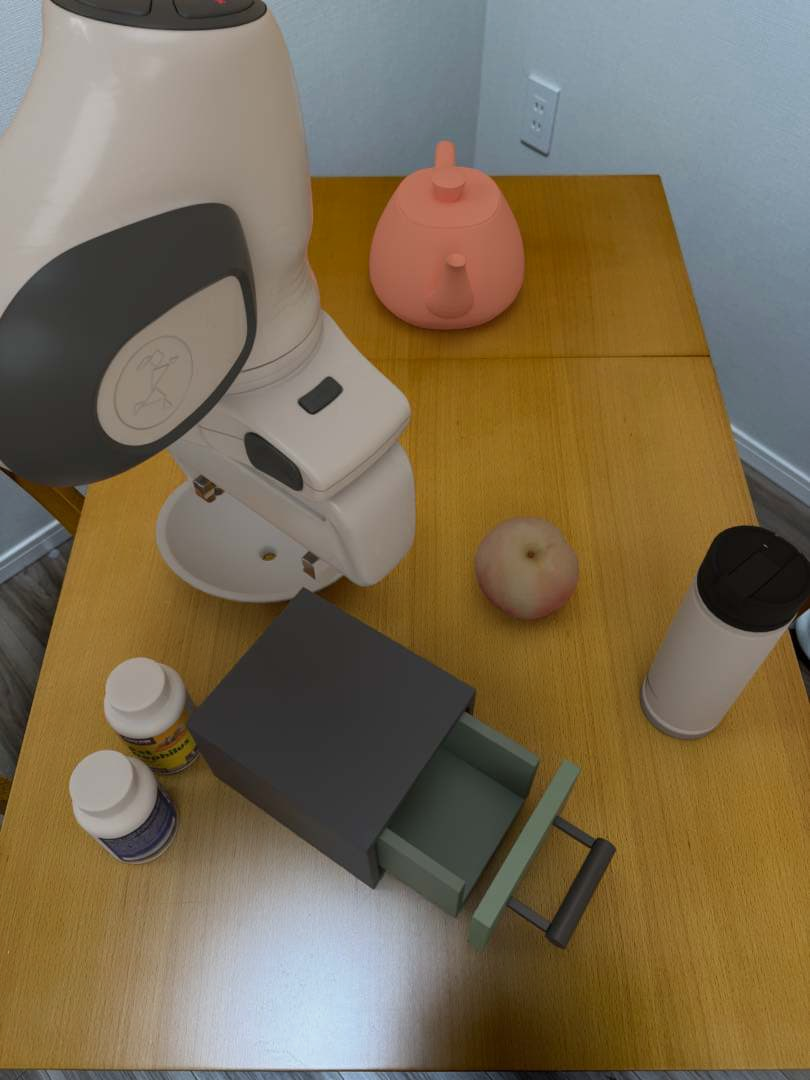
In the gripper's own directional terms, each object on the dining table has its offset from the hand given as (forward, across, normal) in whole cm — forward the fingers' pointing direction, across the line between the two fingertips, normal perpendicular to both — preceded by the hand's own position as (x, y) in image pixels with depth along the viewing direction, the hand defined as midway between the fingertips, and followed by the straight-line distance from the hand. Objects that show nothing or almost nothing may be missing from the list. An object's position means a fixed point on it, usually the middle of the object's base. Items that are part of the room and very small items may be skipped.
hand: (265, 530), depth 52 cm
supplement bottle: (+21, -4, -10) cm, 23 cm away
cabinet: (+20, +7, -2) cm, 21 cm away
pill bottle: (+21, -1, -15) cm, 26 cm away
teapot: (+19, -19, +45) cm, 52 cm away
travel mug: (+19, +25, +17) cm, 36 cm away
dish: (+20, -10, +7) cm, 23 cm away
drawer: (+19, +18, -2) cm, 26 cm away
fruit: (+20, +10, +18) cm, 28 cm away
